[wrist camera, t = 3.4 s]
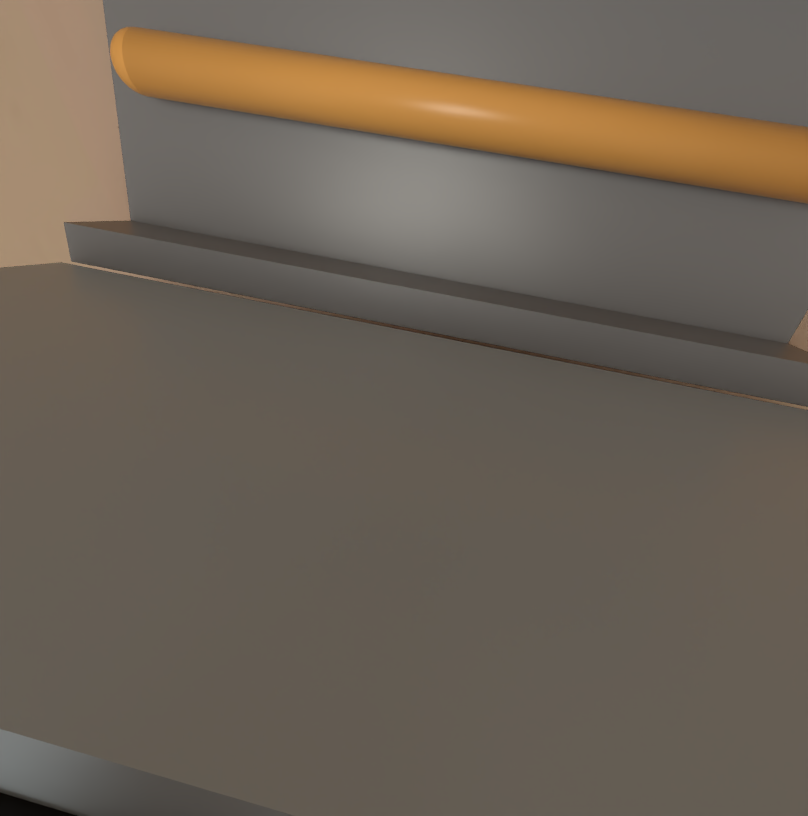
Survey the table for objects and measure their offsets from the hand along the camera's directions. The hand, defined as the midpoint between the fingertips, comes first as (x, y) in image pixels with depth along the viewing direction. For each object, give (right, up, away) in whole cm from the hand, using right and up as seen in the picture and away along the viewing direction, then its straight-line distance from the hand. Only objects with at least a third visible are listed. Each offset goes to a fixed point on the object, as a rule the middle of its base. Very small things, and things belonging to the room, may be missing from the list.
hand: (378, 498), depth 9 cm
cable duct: (+2, +10, +2) cm, 10 cm away
